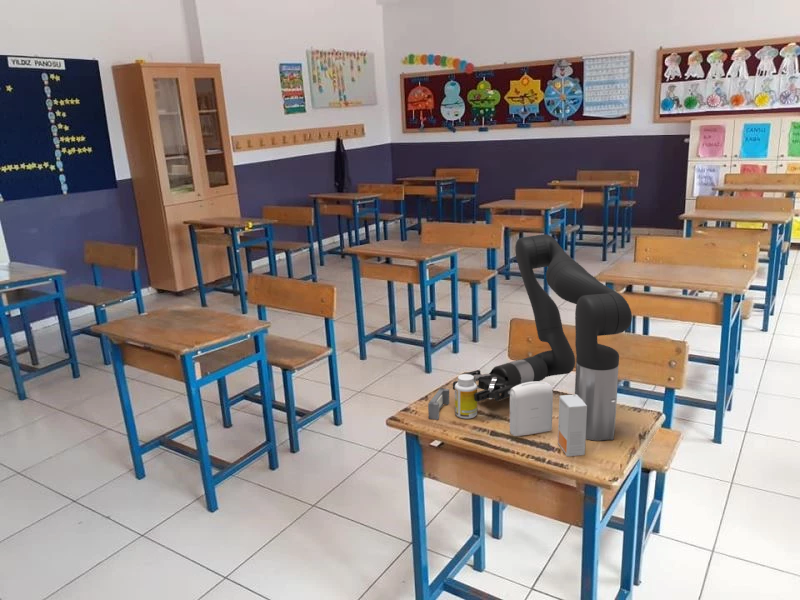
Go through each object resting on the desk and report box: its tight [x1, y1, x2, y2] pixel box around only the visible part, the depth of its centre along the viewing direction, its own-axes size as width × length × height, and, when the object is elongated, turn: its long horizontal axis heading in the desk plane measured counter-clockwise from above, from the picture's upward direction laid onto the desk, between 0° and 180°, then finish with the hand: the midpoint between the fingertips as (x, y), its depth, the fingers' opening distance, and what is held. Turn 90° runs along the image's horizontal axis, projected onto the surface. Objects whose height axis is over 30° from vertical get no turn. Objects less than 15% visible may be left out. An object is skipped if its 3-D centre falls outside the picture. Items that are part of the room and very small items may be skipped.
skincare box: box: [557, 393, 587, 457], centre depth 138 cm, size 6×4×12 cm
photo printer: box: [509, 381, 554, 437], centre depth 147 cm, size 10×4×12 cm, turn 103°
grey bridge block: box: [427, 387, 450, 421], centre depth 160 cm, size 2×10×4 cm, turn 159°
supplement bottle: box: [454, 373, 478, 420], centre depth 156 cm, size 6×6×10 cm
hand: (464, 392), depth 156 cm, fingers open, 8 cm apart
